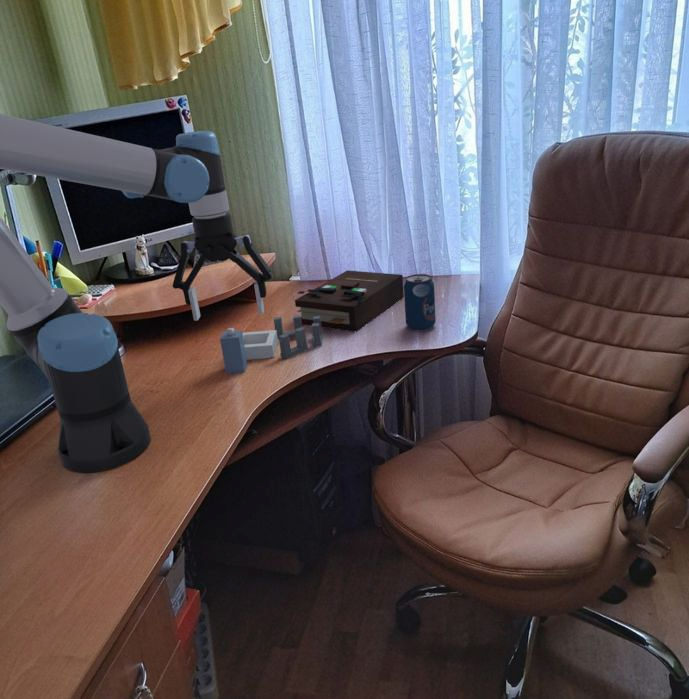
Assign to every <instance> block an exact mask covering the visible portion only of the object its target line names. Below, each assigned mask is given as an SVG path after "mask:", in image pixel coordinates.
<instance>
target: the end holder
mask: <svg viewBox="0 0 689 699" xmlns="http://www.w3.org/2000/svg"><path fill="white" fill-rule="evenodd" d="M242 334H243V340H244V346H245V352H246V358H247V361H248V360H261V359H273V357H274V358H275V355H276V352H277V347H278V344H279V339H278V337H277V330H275V329H274V330H273V329H272V330H261V331H248V332H242ZM275 351H276V352H275ZM271 357H272V358H271Z"/></svg>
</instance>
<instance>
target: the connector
mask: <svg viewBox="0 0 689 699" xmlns="http://www.w3.org/2000/svg"><path fill="white" fill-rule="evenodd" d="M242 333H243V330H240V329H239V330H235V328H234V327H229V328H226V330H225V331H223V332H222V333H221V335H220V338H219V342H220V347H221V348H220V349H221V353H222V357H223V362H224V369H225V374H227V375H228V374H239V373H241V374H242V373H245V372H246V371H247V370H246V369H247V366H248V360H247V358H246V352H245V346H244V340H243V334H242Z"/></svg>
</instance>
